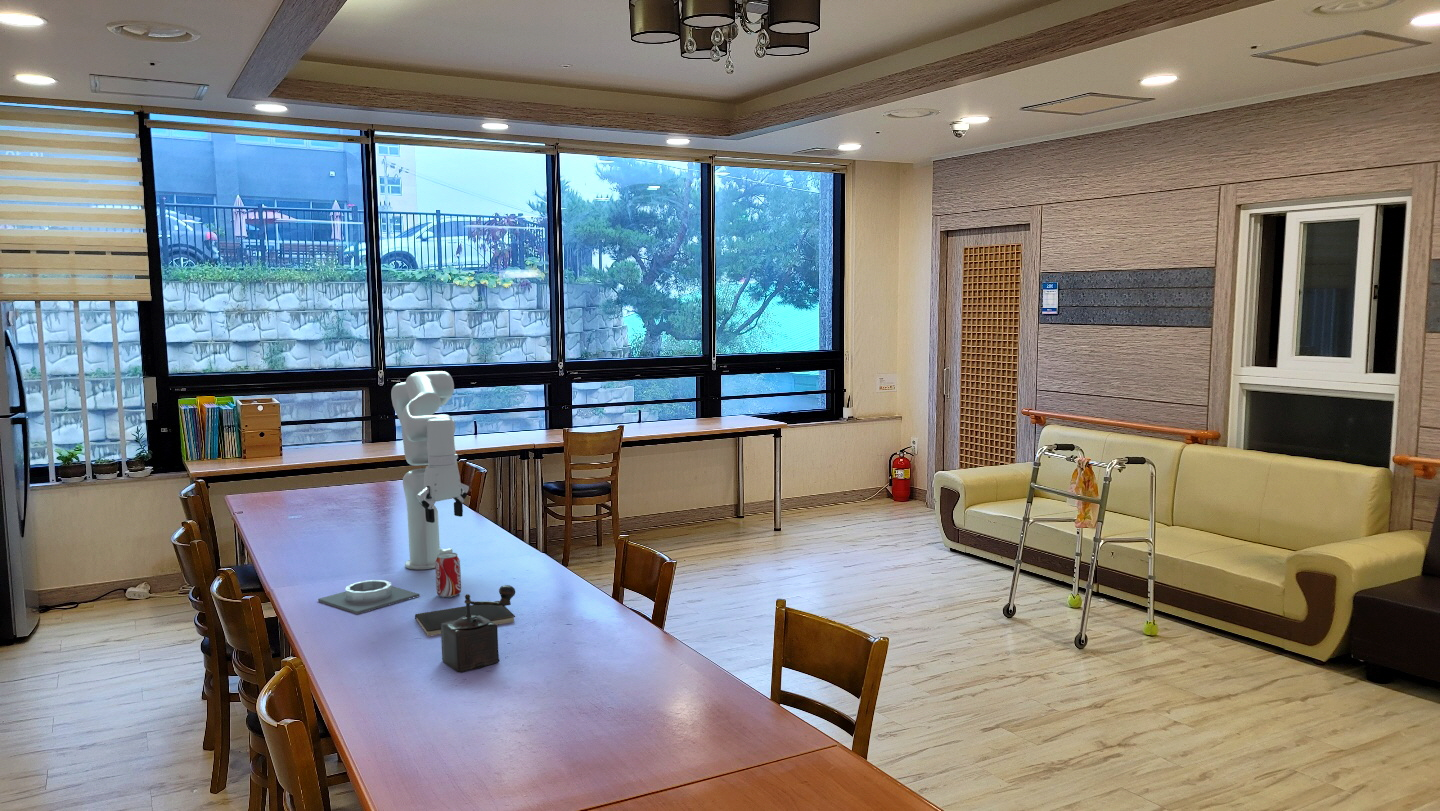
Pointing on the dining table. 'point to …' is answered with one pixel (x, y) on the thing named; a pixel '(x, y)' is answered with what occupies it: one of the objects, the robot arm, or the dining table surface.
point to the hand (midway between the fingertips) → (444, 519)
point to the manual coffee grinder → (473, 637)
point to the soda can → (448, 574)
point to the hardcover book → (435, 618)
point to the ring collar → (368, 591)
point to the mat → (357, 608)
